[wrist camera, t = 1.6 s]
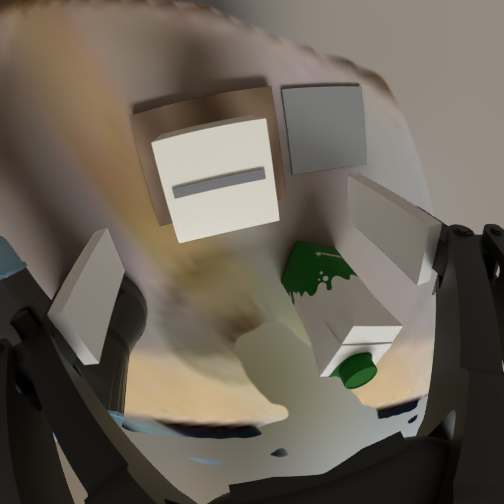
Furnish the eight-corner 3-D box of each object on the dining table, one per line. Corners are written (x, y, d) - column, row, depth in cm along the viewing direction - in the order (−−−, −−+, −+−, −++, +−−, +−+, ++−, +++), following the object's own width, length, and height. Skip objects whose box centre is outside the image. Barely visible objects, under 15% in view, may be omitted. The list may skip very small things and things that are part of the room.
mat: (291, 174, 35) (292, 175, 34) (280, 89, 29) (282, 89, 28) (364, 163, 36) (366, 164, 35) (359, 86, 30) (361, 86, 29)
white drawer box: (181, 215, 27) (179, 244, 22) (161, 134, 23) (150, 142, 18) (263, 197, 28) (280, 221, 23) (250, 115, 24) (266, 118, 18)
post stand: (161, 221, 34) (148, 274, 24) (132, 115, 27) (99, 121, 17) (282, 194, 36) (318, 235, 26) (268, 86, 29) (305, 79, 18)
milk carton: (273, 285, 43) (318, 395, 26) (293, 233, 39) (362, 336, 22) (321, 291, 46) (377, 386, 29) (343, 243, 42) (420, 333, 25)
